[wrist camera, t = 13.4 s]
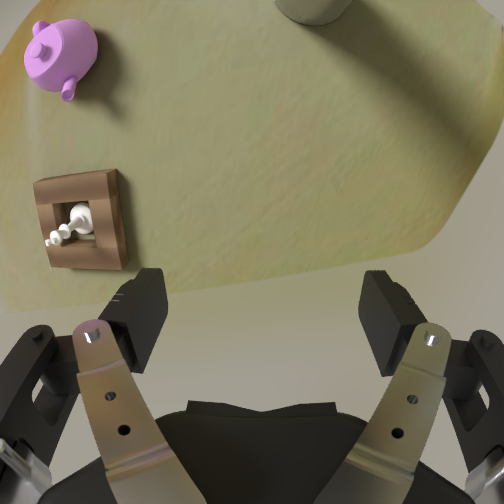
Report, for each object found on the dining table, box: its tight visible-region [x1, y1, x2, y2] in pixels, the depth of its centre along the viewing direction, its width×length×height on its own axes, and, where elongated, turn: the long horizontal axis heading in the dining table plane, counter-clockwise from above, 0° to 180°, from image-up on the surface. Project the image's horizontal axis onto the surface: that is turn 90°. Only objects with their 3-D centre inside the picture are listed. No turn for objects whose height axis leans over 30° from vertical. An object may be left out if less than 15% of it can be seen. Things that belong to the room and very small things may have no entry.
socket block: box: [33, 169, 130, 270], centre depth 39 cm, size 14×14×3 cm
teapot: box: [24, 19, 98, 101], centre depth 26 cm, size 10×15×9 cm
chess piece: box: [45, 202, 93, 246], centre depth 36 cm, size 5×5×10 cm
